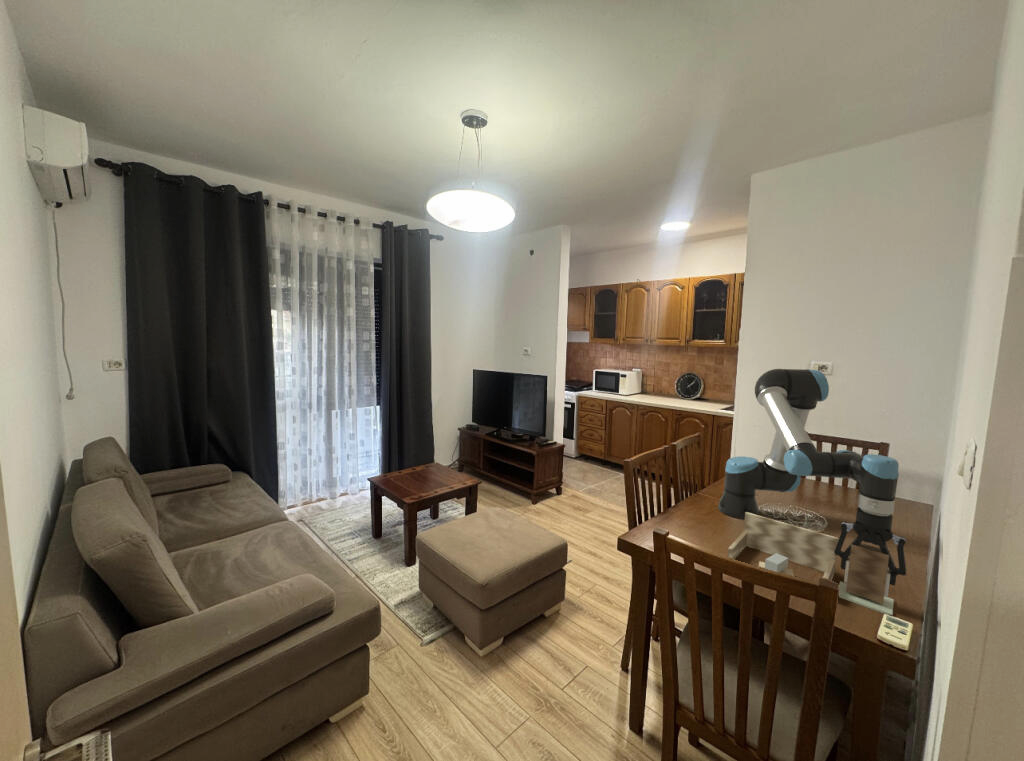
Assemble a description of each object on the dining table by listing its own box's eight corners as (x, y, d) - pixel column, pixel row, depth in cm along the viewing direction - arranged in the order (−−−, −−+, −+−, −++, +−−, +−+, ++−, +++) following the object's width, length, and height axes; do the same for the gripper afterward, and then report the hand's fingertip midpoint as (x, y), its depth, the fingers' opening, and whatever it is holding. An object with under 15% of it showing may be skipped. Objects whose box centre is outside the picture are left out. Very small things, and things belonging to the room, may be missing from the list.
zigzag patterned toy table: (726, 563, 135) (728, 529, 133) (743, 543, 148) (746, 511, 147) (824, 600, 116) (828, 560, 115) (834, 573, 130) (838, 537, 128)
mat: (835, 596, 118) (836, 594, 118) (840, 583, 125) (840, 581, 125) (892, 616, 110) (892, 614, 110) (893, 601, 116) (893, 599, 116)
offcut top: (776, 573, 125) (777, 564, 124) (764, 568, 128) (765, 559, 127) (787, 567, 128) (788, 558, 128) (775, 561, 131) (776, 553, 131)
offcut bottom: (758, 575, 129) (759, 566, 129) (758, 569, 132) (759, 561, 132) (792, 584, 124) (793, 575, 124) (792, 578, 127) (792, 569, 127)
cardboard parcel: (846, 591, 119) (851, 545, 117) (847, 585, 122) (852, 540, 120) (883, 604, 113) (889, 556, 112) (883, 597, 116) (889, 551, 114)
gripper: (826, 503, 119) (818, 576, 122) (927, 527, 105) (916, 610, 107) (830, 496, 125) (822, 567, 127) (927, 518, 110) (916, 597, 113)
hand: (865, 586), depth 117 cm, fingers closed on cardboard parcel, 8 cm apart
